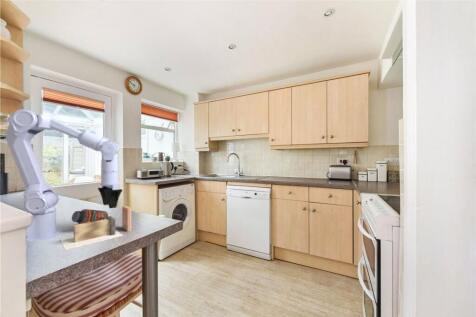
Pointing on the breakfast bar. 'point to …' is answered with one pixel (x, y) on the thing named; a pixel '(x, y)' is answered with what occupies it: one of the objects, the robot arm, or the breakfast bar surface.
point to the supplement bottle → (88, 216)
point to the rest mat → (70, 243)
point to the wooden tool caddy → (94, 229)
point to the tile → (126, 218)
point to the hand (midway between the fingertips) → (109, 206)
